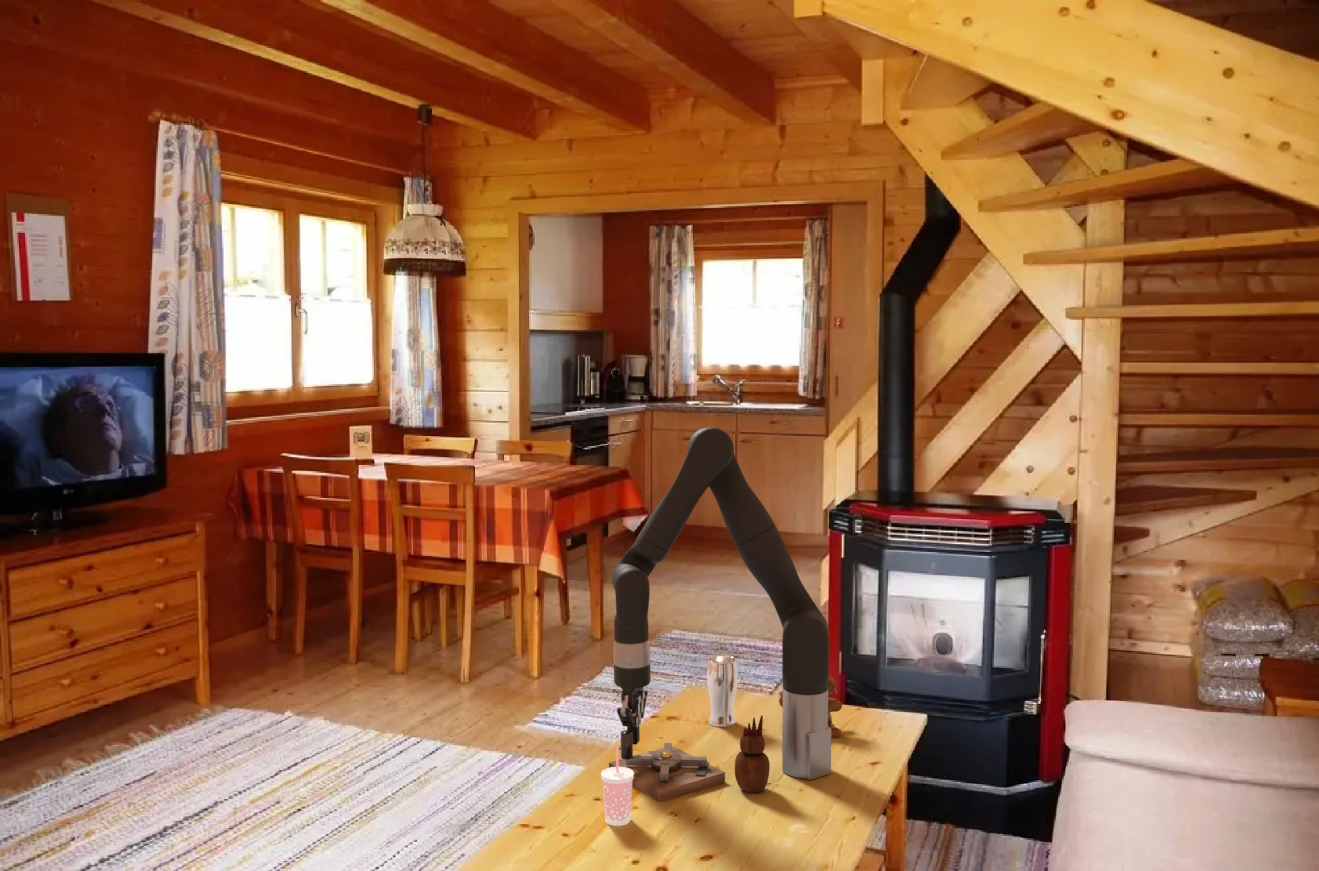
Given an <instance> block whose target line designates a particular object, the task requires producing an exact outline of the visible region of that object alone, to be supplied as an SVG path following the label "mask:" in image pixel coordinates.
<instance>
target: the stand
mask: <svg viewBox="0 0 1319 871" xmlns="http://www.w3.org/2000/svg"><path fill="white" fill-rule="evenodd" d="M663 749H664V747H662V748H658V749H654V750H650V751H647V752H643V753H640V754H636V755H634V756H652V755H653V754H654V753H656V752H661V751H663ZM672 752H676V753H678V754H680V755H681V757H695V756H694V755H692V754H689V753H687V752H686V751H684V750H682V749H679V748H677V747H675V746H674V745H672ZM611 767H616V760H614V761H609V762H608V768H611ZM619 767H626V768H629V769H631V770H633V772H634V778H633V781H632V787H634V788H636V789H637V790H639V791H641V792H643V793H644V794H646V795H647V796H650V797H651V798H653V799H655V800H656V801H658V802H659V803H661V802H664V801H667V800H670V799H673V798H677V797H680V796H684V795H687V794H690V793H693V792H697V791H701V790H704V789H706V788H710V787H713V786H714V787H715V786H717V785H720V784H724V783H726V772H725V771H723V770H721V769H720V768H717V767H715V766H713V765H711V764H710V762H709V761H707V767H693V766H681V767H680V768H679V769H678V770H675V771H669V779H668V781H660V771H658V770H655V769H653V768H652V766H634V765H626V759H622V758H621V759H620V758H619Z"/></svg>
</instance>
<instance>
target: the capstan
mask: <svg viewBox="0 0 1319 871" xmlns="http://www.w3.org/2000/svg"><path fill="white" fill-rule="evenodd" d="M633 746H634V744H633V732H632V731H630V730H627V729H624V730H621V731H620V758H621V759H626V765H634V766H652V768H653V769H655V770H658V771H660V781H668V779H669V771H675V770H678V769H679V768H680V767H681V766H693V767H707V762H708V757H707V756H694V757H681V755H680V754H678V753H676V752H672V746H673V743H672V742H664V743H663V748H664V749H663V751H661V752H656V753H654V754H653V755H652V756H635V755H634V754H633V753H634V748H633Z"/></svg>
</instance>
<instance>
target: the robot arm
mask: <svg viewBox="0 0 1319 871" xmlns="http://www.w3.org/2000/svg"><path fill="white" fill-rule="evenodd" d="M708 488H709V489H710V491H711V492H712V494H713V496H714V498H715V500H716V503H717V504H718V509H719V510H720V511H719V512H720V514H721V516H722V518H723V521H724V524H725V526H726V529H727V531H728V533H729V536H730V537H731V540H732V542H733V544H734V546H735V548H736V550H737V552H738V554H739V556H740V558H741V560H742V561H743V563H744V564H745V566H746V568H747V569H748V570H749V572H750V573H751V574H752V576H753V577H754V578H755V580H756V581H757V582H758V583H759V584H760V586H761V587H762V588H763V590H764V591H765V592H766V594H767V595H768V597H769V598H770V600H771V603H772V604H773V607H774V609H775V611H776V614H777V615H778V616H777V617H778V618H779V620H780V624H781V626H782V639H781V641H782V644H781V648H782V649H781V650H782V653H781V655H782V660H781V661H782V670H781V673H782V674H781V675H782V676H781V677H782V691H783V708H782V721H781V722H782V725H781V726H782V730H781V731H782V733H781V734H782V736H781V737H782V743H781V744H782V746H781V749H782V750H781V751H782V753H781V754H782V755H781V756H782V759H781V760H782V762H781V763H782V765H781V766H782V767H781V769H782V771H783V772H784V773H785V774H786V775H788V776H791V777H794V778H799V779H805V780H808V781H811V780H814V779H817V778H820V777H823V776H826V775H829V774H832V737H831V728H829V727H828V697H829V695H828V677H829V676H830V675H829V672H830V671H829V670H830V669H829V667H830V666H829V664H830V663H829V662H830V658H829V656H830V654H829V653H830V637H829V636H830V634H829V632H830V631H829V625H828V621H827V620H826V618H825V616H824V615H823V613H822V612H821V610H820V608H818V606H817V605H816V603H815V602H814V600H813V598H812V597H811V595H810V593H809V592H808V591H807V589H806V588H805V585H804V584H803V583H802V581H801V578H800V577H799V574H798V571H797V568H796V567H795V563H794V562H793V558H792V557H791V555H790V552H789V550H788V548H787V546H786V544H785V542H784V538H783V537H782V535H781V533H780V531H779V529H778V527H777V526H776V524H775V522H774V520H773V518H772V516H771V514H770V513H769V512H768V511H767V508H765V506H764V504H763V502H762V501H761V500H760V499H759V497H758V496H757V495H756V493H755V492H754V491H753V489H752V488H751V486H750V485H749V483H748V481H747V480H746V478H745V476H744V474H743V471H742V469H741V467H740V465H739V463H738V459H737V458H736V454H735V446H734V442H733V439H732V438H731V436H730V435H729V434H728V433H727V432H726V431H725V430H724V429H721V428H718V427H715V426H707V427H703V428H699V429H698V430H697V431H695V432H694V433H693V434H692V436H691V437H690V438H689V441H688V442H687V453H686V455H685V458H684V460H683V463H682V466H681V468H680V470H679V472H678V474H677V476H676V478H675V479H674V481H673V483H672V484H671V487H669V489H668V490H667V492H666V493H665V495H664V496H663V497H662V499H661V501H660V502H659V503H658V504H657V506H656V507H655V508H654V510H653V511H652V513H651V514H650V516H649V517H648V519H647V520H646V523H645V524H644V525H643V527H642V529H641V531H640V532H639V534H638V536H637V537H636V539H635V541H634V543H633V544H632V545H631V547H630V548H628V550H627V551H626V552H625V554H624V555H623V556H622V558H621V559H620V560H619V561H618V563H617V564H616V567H615V568H614V570H613V573H612V576H611V584H612V587H613V589H614V593H615V613H616V614H615V615H614V620H613V621H614V622H613V625H614V626H613V633H614V640H613V642H614V643H613V651H612V653H613V683H614V684H615V686H617V687H619V688H621V694H620V703H621V706H618V707H617V709H616V713H617V715H618V718H619V721H620V722H621V726H622V727H625V728H626V730H630V731H632V732H633V746H634V745H635V746H637V745H638V743H639V742H640V741H641V739H640V735H641V734H640V729H641V728H640V725H641V723H642V719H644V716H645V710H646V705H647V699H648V695H649V693H648V692H649V691H648V690H645V689H644V688H645V687H647V686H649V685H650V683H651V681H652V676H651V646H650V642H649V641H650V639H649V638H650V637H649V636H650V635H649V618H648V615H649V607H650V591H651V589H650V581H649V580H650V579H649V576H650V574H651V573H652V572H653V571H654V569H655V567H656V565H657V564H658V563H661V562H663V561H664V559H665V558H666V557H667V556H668V554H669V552H670V551H671V549H672V547H673V546H674V544H675V543H676V541H677V539H678V537H679V536H680V534H681V532H682V530H683V529H684V527H685V525H686V524H687V522H688V520H689V518H690V516H691V514H692V513H693V511H694V509H695V507H696V506H697V505H698V502H699V501H700V499H701V498H702V496H703V495H704V493H705V492H706V490H707V489H708Z"/></svg>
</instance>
